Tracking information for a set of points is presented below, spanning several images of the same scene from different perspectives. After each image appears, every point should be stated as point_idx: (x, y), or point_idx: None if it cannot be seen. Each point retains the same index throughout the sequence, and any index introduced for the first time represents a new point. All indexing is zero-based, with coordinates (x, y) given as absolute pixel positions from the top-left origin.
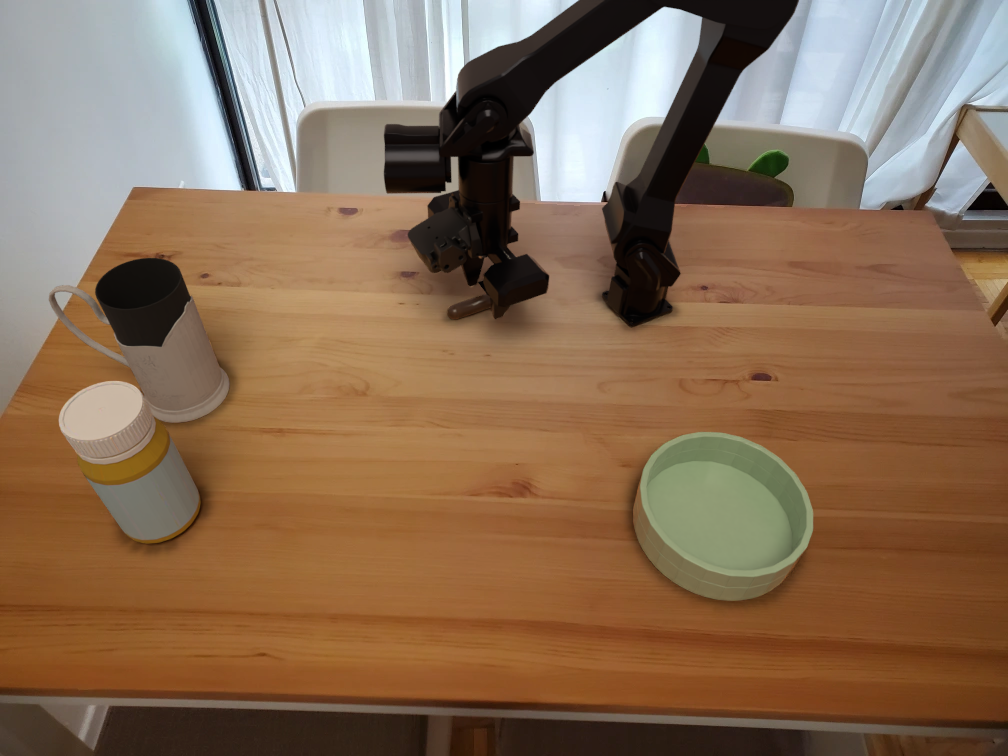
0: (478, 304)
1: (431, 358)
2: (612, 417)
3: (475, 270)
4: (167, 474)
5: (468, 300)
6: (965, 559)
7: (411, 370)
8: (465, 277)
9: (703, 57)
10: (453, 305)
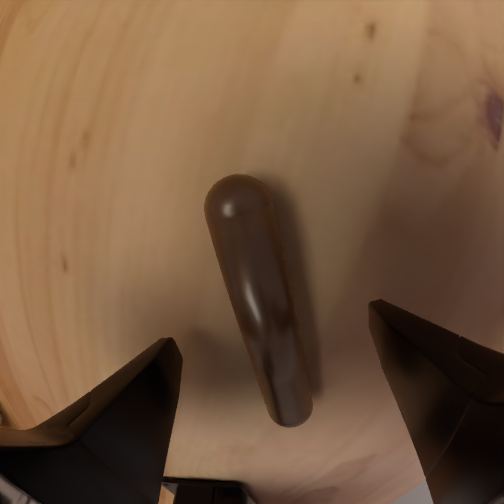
0: (238, 315)
1: (69, 96)
2: (5, 381)
3: (394, 368)
4: None
5: (261, 287)
6: None
7: (50, 47)
8: (397, 311)
9: None
10: (241, 211)
